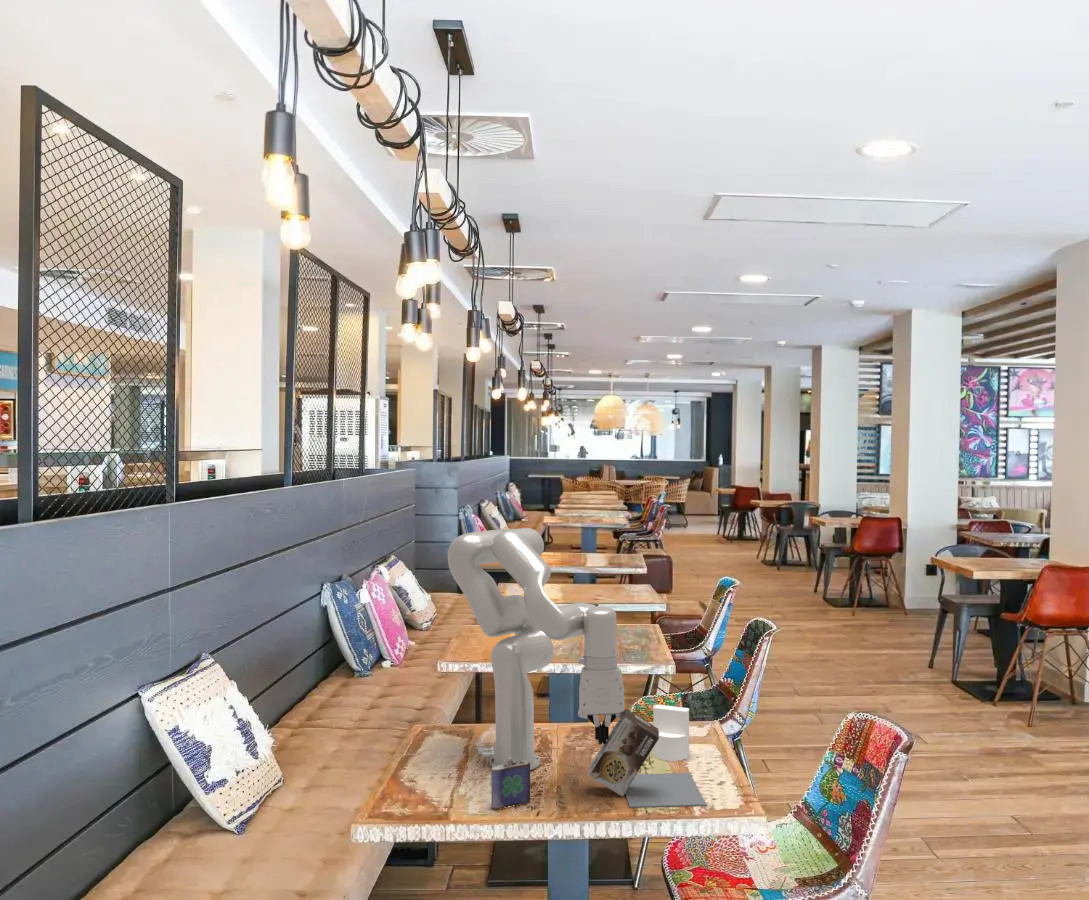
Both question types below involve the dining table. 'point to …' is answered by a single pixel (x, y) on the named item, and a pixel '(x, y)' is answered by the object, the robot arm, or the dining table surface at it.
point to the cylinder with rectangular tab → (671, 732)
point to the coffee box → (624, 752)
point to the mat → (664, 791)
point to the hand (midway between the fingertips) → (602, 742)
